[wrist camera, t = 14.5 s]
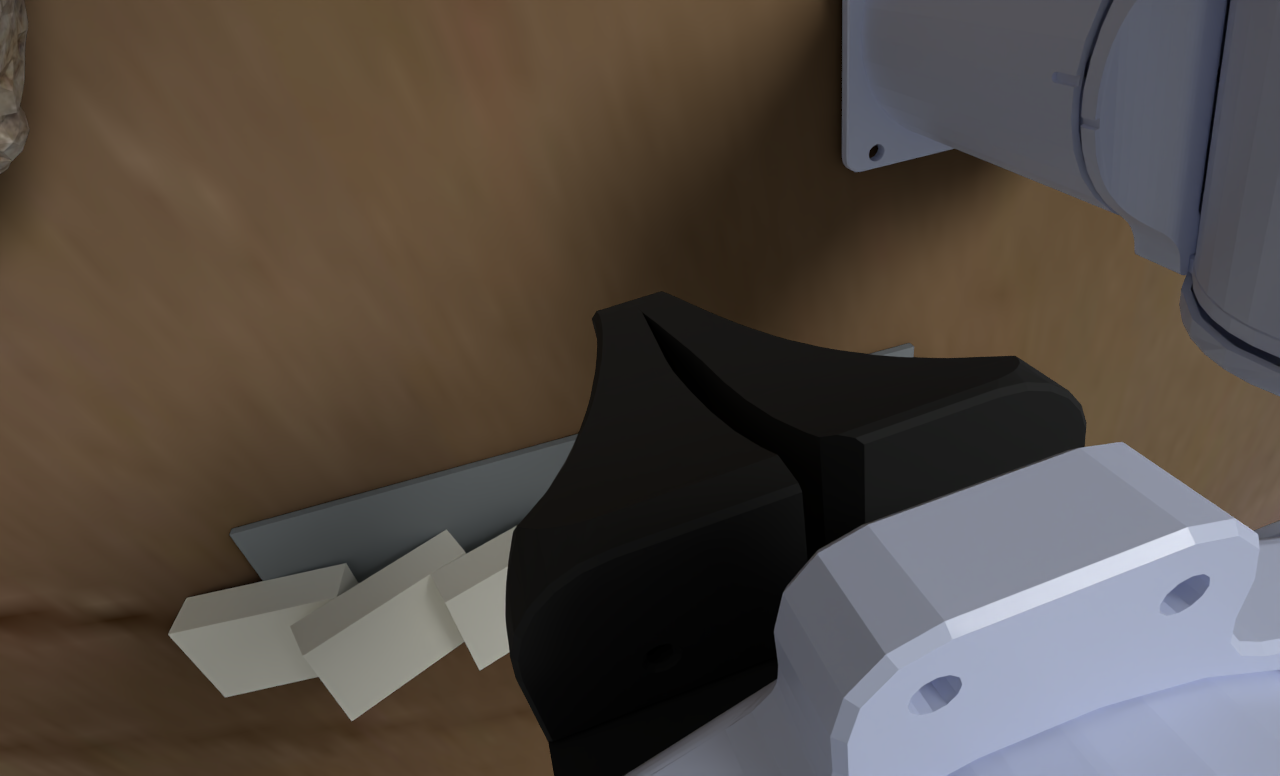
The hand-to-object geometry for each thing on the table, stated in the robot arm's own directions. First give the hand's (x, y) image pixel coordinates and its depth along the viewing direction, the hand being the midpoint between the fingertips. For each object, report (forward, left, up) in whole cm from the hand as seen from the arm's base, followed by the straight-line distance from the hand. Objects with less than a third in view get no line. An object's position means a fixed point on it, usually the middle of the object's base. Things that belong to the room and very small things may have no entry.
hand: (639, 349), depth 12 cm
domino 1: (+11, +13, -9) cm, 19 cm away
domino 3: (+2, +13, -9) cm, 16 cm away
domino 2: (+7, +13, -9) cm, 18 cm away
